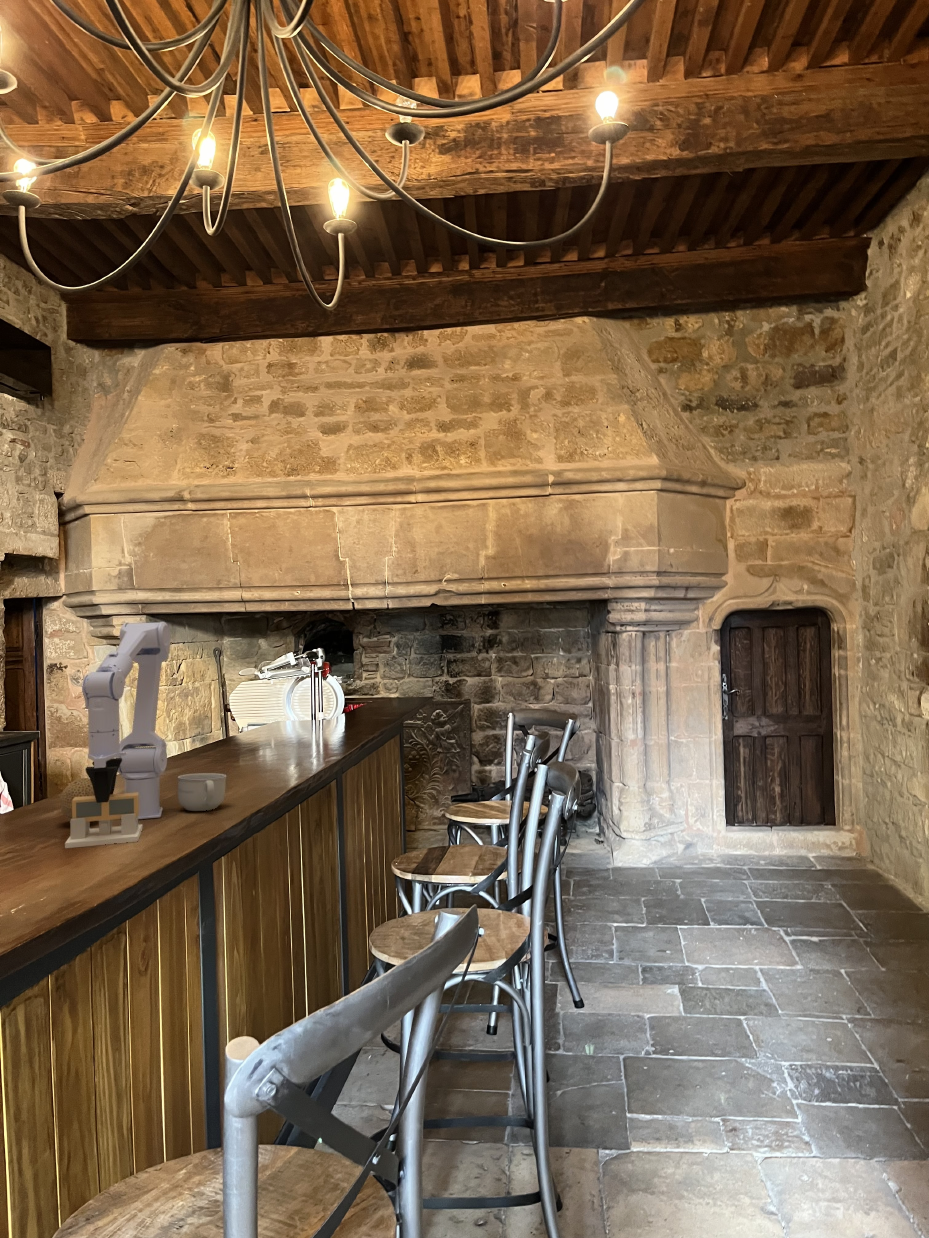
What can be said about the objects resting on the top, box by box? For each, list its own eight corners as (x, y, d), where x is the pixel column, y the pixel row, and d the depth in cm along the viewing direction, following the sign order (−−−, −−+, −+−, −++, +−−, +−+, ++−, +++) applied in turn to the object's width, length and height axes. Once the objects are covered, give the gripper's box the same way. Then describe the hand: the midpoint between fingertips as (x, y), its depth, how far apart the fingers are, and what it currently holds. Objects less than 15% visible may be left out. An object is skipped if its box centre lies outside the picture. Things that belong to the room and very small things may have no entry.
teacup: (177, 806, 190) (177, 773, 190) (225, 802, 194) (224, 769, 194) (178, 819, 177) (178, 782, 177) (229, 814, 181) (229, 778, 181)
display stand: (74, 835, 164) (74, 811, 164) (142, 829, 168) (142, 805, 168) (65, 848, 154) (64, 822, 154) (137, 841, 158) (137, 816, 158)
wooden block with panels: (75, 819, 161) (74, 797, 161) (139, 813, 164) (138, 792, 165) (72, 822, 158) (72, 800, 158) (137, 817, 161) (137, 795, 161)
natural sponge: (101, 826, 171) (101, 779, 171) (55, 830, 168) (55, 783, 169) (107, 817, 180) (106, 773, 180) (63, 821, 177) (62, 776, 177)
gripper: (121, 733, 156) (122, 803, 155) (129, 726, 169) (129, 790, 169) (81, 736, 153) (82, 806, 153) (92, 727, 167) (93, 792, 167)
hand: (105, 798), depth 161 cm, fingers open, 7 cm apart
